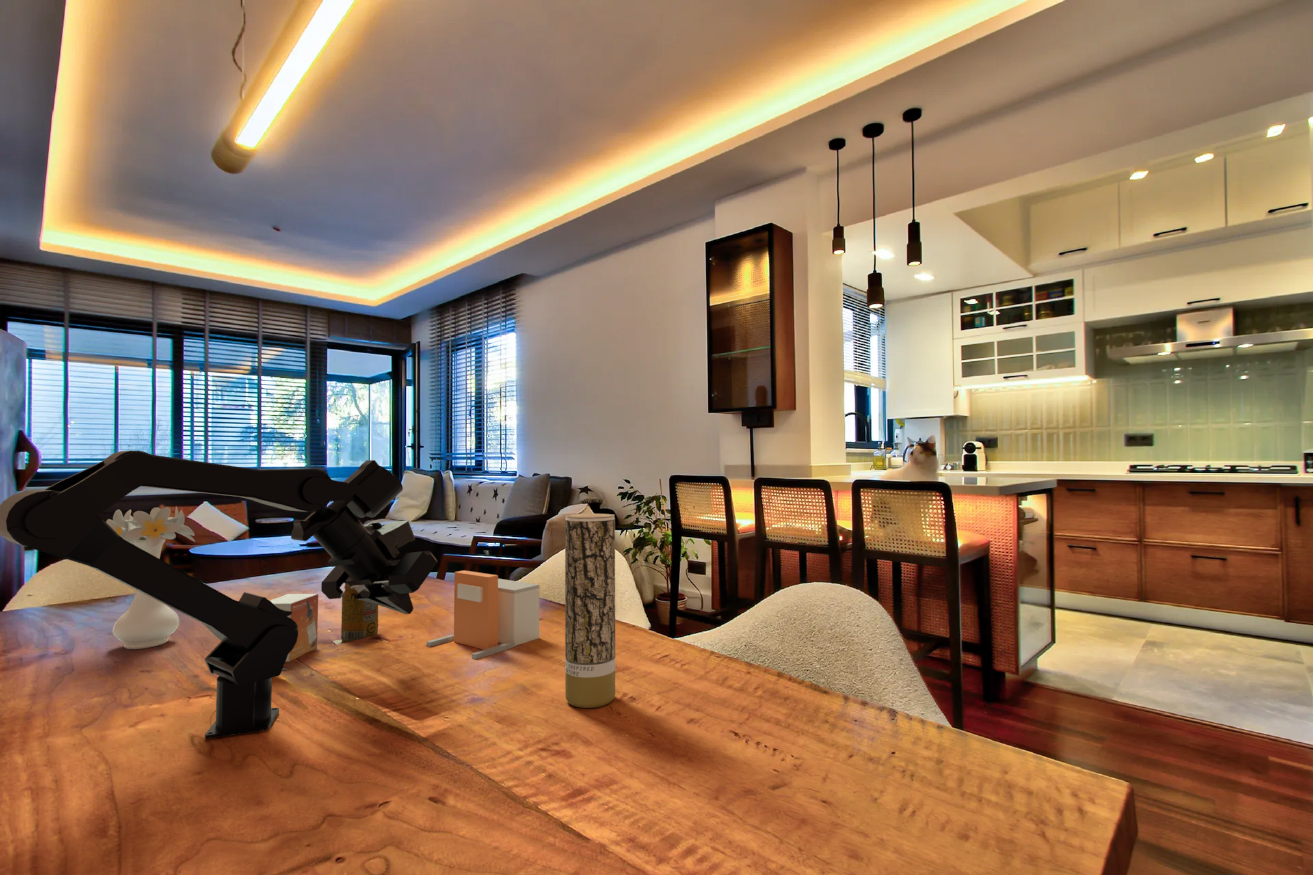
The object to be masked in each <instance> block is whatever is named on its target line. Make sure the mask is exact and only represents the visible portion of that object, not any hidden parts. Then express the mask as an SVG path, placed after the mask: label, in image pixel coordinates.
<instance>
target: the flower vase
mask: <svg viewBox="0 0 1313 875" xmlns="http://www.w3.org/2000/svg"><path fill="white" fill-rule="evenodd" d="M171 510H172V509H171V508H170V507H169V506H165V507H162V508H160V507H153V508H152V509H151V511H150V513H147V512H145V511H142V510H137V511H135V512H133V514H132V515H133V516H132V515H131V513H132V509H129V510H128V511H126V512H125V514H124V515H123V513H122V511H121V510H120V509H117V510H115V512H114V514H113V516H112V519H110V518H108V519H107V520H106V521H105V522H106V523H107V524H108V525H109V526H110V527H111V528H112V529H113V530H114V531H115V532H116V533H117V534H118V535H119V536H120V537H122V538H123V539H124V540H126V541H128V542H130V543H131V544H133V545H135V546H137V547H139V548H140V549H142V550H144V551H146V552H148V553H150V554H151V555H153V556H155V557H157V558H159V559H160V558H161V554H162V549H163V546H164V543H165V542H166V540H174V539H176V536H177V535H176V533H177V534H179V535H182V536H184V537H186V538H187V539H189V540H190V541H193V542H194V543H196V540H195V539H194V538H193V537H194V536H195V535H196V534H195V532H194V531H193V530H192V529H191V528H190V527H189V526H188V525H185V524H184V523H185V521H186V520H185V519H186V516H185V513H184V511H183V510H180V511H179V510H178V507H177V506H175V511H174V516H171V517H170V515H171V513H172V511H171ZM192 536H193V537H192ZM180 623H181V622H180V617H179V615H178V614H177V612H176V611H175V610H174V609H173V608H171V607H169V606H167V605H165V604H163V603H161V602H159V601H157V600H155V599H153V598H151V597H149V596H147V595H145V594H143V593H141V592H139V591H137V590H135V594H134V597H133V599H132V602H131V604H130V606H129V607H128V608H127V610H126V611H125V612H124V613H123V614H122V615H121V616H120V617H119V618H118V619H117V620H116V621H115V623H114V625H113V627H112V635H113V636H114V637H115V638H116V639H117V640H119V641H120V642H123V643H124V644H123V648H124V649H127V650H139V649H148V648H153V647H157V646H161V645H164V644H166V643H167V642H168V640H169V636H171V635H172V634H174V632H175V631H176V630H177V629H178V627H179V626H180Z"/></svg>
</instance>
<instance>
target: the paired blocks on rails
mask: <svg viewBox="0 0 1313 875" xmlns="http://www.w3.org/2000/svg"><path fill="white" fill-rule="evenodd" d="M539 638H540V584H536V583H530V582H523V581H516V580H510V579H502V578H498V643H500V644H498V646H495V647H491V648H488V649H485V650H484V649H481V650H478V651H475V652H473V653H471V659H473V660H478V659H482V658H484V657H488V656H491V655H494V654H497V653H501V652H503V651H506V650H509V649H513V648H515V646H518V645H521V644H525V643H528V642H531V641H534V640H537V639H539ZM451 641H453V642H454V633H453V634H448V635H445V636H441V637H438V638H435V639H430V640H426V645H425V646H426V647H428V648H430V647H434V646H438V645H441V644H445V643H448V642H451Z"/></svg>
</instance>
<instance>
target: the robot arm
mask: <svg viewBox="0 0 1313 875" xmlns="http://www.w3.org/2000/svg"><path fill="white" fill-rule="evenodd" d="M397 476H398V475H396V474H393V473H392V472H391V471H390V470H388V469H387V468H385V467H383V466H382V465H379V464H378V461H376V460H375V459H369V460H367V459H366V460H365V461H364V462H363V463H362V464H360V465H359V466H358V468H357V469H356V470H355V471H354V472H353V473H352V474H350V475H349V476H348V477H347V478H346V479H345V480H344V481H341V480H340V481H338V480H334V479H332V478H331V477H330V475H329V473H327V472H326V471H325V470H322V469H318V468H273V469H272V468H267V469H261V468H259V469H256V468H251V467H243V466H236V465H228V464H220V463H214V462H206V461H200V460H195V459H192V460H191V459H185V458H178V457H170V456H163V455H156V454H152V453H148V452H145V451H143V450H120V451H117V452H114V453H112V454H110V455H108V456H107V457H106V458H105V459H103V460H102V461H100V462H97V463H96V464H94V465H92V466H90V467H88V468H85V469H83V470H80V471H79V472H77V473H74V474H73V475H70V476H68V477H66V478H64V479H62V480H59V481H58V482H56V483H54V484H52V485H50V486H48V487H46V488H45V489H29V490H28V489H27V490H24V491H20V492H17V493H14V494H12V495H11V496H10V495H9V497H8V498H6V499H5V500H2V502H1V503H0V536H1V537H2V538H4V539H5V540H7V541H8V542H11V543H14V544H16V545H19V546H23V547H27V548H30V549H32V550H35V551H40V552H41V553H42V552H43V553H45V554H49V555H52V556H55V557H59V558H61V559H65V560H68V561H71V562H75V563H77V564H82V565H84V566H87V567H90V568H92V569H94V570H95V571H98V572H100V573H101V574H104V575H106V576H107V577H110V578H112V579H114V580H115V581H116V582H119V583H121V584H123V585H125V586H128V587H130V588H131V589H134V590H135V591H136V590H137V591H139V592H141V593H143V594H145V595H147V596H149V597H151V598H153V599H155V600H157V601H159V602H161V603H163V604H165V605H167V606H168V607H169V608H171V609H172V610H174V611H177V612H179V613H181V614H182V615H185V616H187V617H189V618H191V619H192V620H195V621H197V622H199V623H201V624H203V625H204V626H205V627H206V628H207V629H208V630H209V631H210V632H211V633H212V634H213V635H214V636H215V637H216V638H217V639H218V640H220V642H218V644H217V645H216V646H215V647H214V648H213V650H211V651H210V653H209V654H207V656H206V657H205V659H204V661H205V664H206V666H207V669H208V670H209V673H210V674H212V675H213V674H215V675H217V676H218V677H217V678H216V697H215V698H216V700H215V705H216V706H215V721H214V722H213V724H211V726H210V727H209V728H208V729H207V731H206V732H205V733H204V738H205V739H214V738H222V737H228V736H235V735H242V734H243V735H244V734H249V733H250V734H252V733H258V732H265V731H267V730H269V729H270V728H271V726H272V725H273V723H274V721H275V719H276V718H277V716H278V714H279V713H280V708H279V707H272V698H273V697H272V690H273V688H272V687H273V678H276V677H279V676H281V674H282V672H283V670H282V669H283V667H284V668H285V664H286V662H285V661H286V659H287V656H288V654H289V653H290V652H291V651H292V649H293V648H294V646H295V644H296V642H297V638H298V625H297V624H296V622H295V621H293V620H292V619H291V618H289V617H287V616H289V615H291V614H292V612H291V611H287V610H284V609H280V608H278V607H276V606H275V605H274V604H273V603H272V602H271V601H270V600H269V599H268V598H267V597H265V596H262V595H257V594H254V593H249V592H246V591H244V592H243V593H242V595H241V597H240V599H239V600H237V599H234V598H231V597H230V596H228V595H226V594H225V593H222V592H221V591H219V590H217V589H215V588H214V587H211V586H210V585H208V584H207V583H204V582H202V581H200V580H199V579H197V578H195V577H194V576H192V575H189V574H188V573H186V572H184V571H183V570H180V569H179V568H177V567H176V566H173V565H171V564H170V563H167V562H166V561H164V560H163V559H159V558H157V557H155V556H153V555H151V554H150V553H148V552H146V551H144V550H142V549H140V548H139V547H137V546H135V545H133V544H131V543H130V542H128V541H126V540H124V539H123V538H122V537H120V536H119V535H118V534H117V533H116V532H115V531H114V530H113V529H112V528H111V527H110V526H109V525H108V524H107V523H106V521H105V519H103V518H102V517H101V516H100V514H101V513H103V512H105V511H106V510H107V509H109V508H111V507H112V506H114V505H115V504H116V503H118V502H119V501H120V500H122V499H123V498H124V497H126V496H127V495H129V494H131V493H132V492H133V491H135V490H137V489H138V488H140V487H145V488H152V489H153V488H155V489H160V490H161V489H163V490H173V491H182V492H191V493H201V494H209V495H210V494H211V495H219V496H220V495H221V496H228V497H230V496H231V497H239V498H242V499H247V500H251V501H253V502H257V503H259V504H263V505H266V506H269V507H270V506H271V507H272V508H277V509H280V510H285V511H293V512H305V513H311V514H309V515H308V516H307V517H306V518H305V519H294V520H293V529H292V531H291V535H290V538H291V540H294V541H299V542H307V541H309V540H310V538H312V537H313V538H314V539H315V540H316V542H318V543H319V545H320V546H321V547H322V548H323V549H324V550H325V551H326V552H327V554H328V555H329V556H331V557H330V558H329V559H328V561H327V563H328V564H329V565H330V566H331V567H333V569H332V570H331V571H330V572H329V573H328V574H327V575H326V577H325V578H324V579H323V580H322V581H321V593H322V594H323V595H324V596H326V598H327V599H328V600H336V599H338V600H339V599H342V596H343V592H344V591H343V589H341V587H342V586H343V584H345V583H348V584H349V586H350V588H351V589H355V590H356V591H357V592H358V593H359V594H358V595H357V596H356V598H357V599H358V600H363V601H367V602H370V603H373V604H377V605H378V606H379V607H380V606H381V607H383V608H386V609H389V610H391V611H395V612H399V613H401V614H404V615H411V614H412V612H413V611H414V605H413V602H412V598H411V596H410V595H411V594H413V593H415V592H417V591H418V590H420V588H421V586H422V585H423V583H424V582H425V581H426V579H427V578H428V576H429V575H430V574H431V572H432V571H433V569H434V568H435V566H436V565H437V563H438V560H437V558H436V557H435V556H434V554H433V553H432V552H431V551H430V550H424V551H415V552H412V551H411V552H406V553H405V554H404V555H403V556H402V558H400V559H399V558H398V559H396V557H398V555H399V554H400V553H401V552H400V551H399V550H398V549H400V548H401V547H403V546H404V545H406V544H407V543H412V542H413V541H415V540H416V538H415V535H414V531H413V529H412V527H411V523H410V522H409V520H408V519H407V520H401V521H399V520H398V521H393V522H389V523H384V524H381V523H380V522H379V521H375V522H370V523H367V524H366V525H364V524H363V523H362V522H361V520H360V519H359V518H361V519H362V518H365V517H368V518H375V517H376V516H377V515H378V514H379V513H381V511H383V510H384V509H385V508H386V507H387V506H388V505H389V504H390V503H391V502H392V501H394V500H395V498H397V496H399V495H400V494H401V493H402V492H403V488H404V487H403V484H402V482H401V481H400V479H399V478H398V477H397ZM330 502H331V503H330Z"/></svg>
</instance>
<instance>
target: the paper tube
mask: <svg viewBox="0 0 1313 875" xmlns="http://www.w3.org/2000/svg"><path fill="white" fill-rule="evenodd" d="M615 515H616V514H610V513H575V514H573V513H572V514H566V515H565V518H564V521H565V522H564V525H565V526H564V527H565V528H564V529H565V531H564V533H565V534H564V540H565V542H564V543H565V544H564V547H565V548H564V550H565V553H564V554H565V555H564V556H565V557H564V558H565V560H564V562H565V563H564V565H565V566H564V567H565V568H564V569H565V570H564V576H565V577H564V579H565V580H564V582H565V583H564V584H565V586H564V587H565V588H564V597H565V598H564V602H565V603H564V604H565V607H564V611H565V612H564V613H565V614H564V617H565V618H564V621H565V623H564V627H565V628H564V632H565V633H564V635H565V637H564V639H565V642H564V646H565V647H564V648H565V650H564V653H565V654H564V658H565V659H564V661H565V662H564V666H565V667H564V670H565V672H564V673H565V676H564V677H565V678H564V680H565V684H564V685H565V688H564V691H565V693H564V695H565V700H566V701H567V703H568V704H569V705H571V706H573V707H576V708H583V709H594V708H600V707H604V706H607V705H608V704H610V703H612V701H613V700H614V699H615V697H616V518H615Z"/></svg>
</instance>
